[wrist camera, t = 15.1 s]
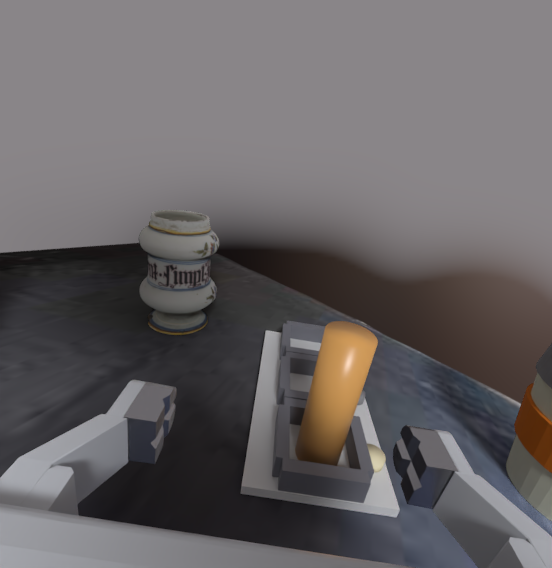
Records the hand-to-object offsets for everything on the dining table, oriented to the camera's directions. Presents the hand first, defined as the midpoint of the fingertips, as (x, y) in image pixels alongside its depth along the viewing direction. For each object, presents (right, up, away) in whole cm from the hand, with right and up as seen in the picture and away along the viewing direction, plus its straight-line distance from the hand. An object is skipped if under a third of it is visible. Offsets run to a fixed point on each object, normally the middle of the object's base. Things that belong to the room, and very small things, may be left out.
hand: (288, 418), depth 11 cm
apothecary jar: (-17, -2, +42) cm, 45 cm away
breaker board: (+4, -10, +29) cm, 31 cm away
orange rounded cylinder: (+4, -12, +20) cm, 24 cm away
